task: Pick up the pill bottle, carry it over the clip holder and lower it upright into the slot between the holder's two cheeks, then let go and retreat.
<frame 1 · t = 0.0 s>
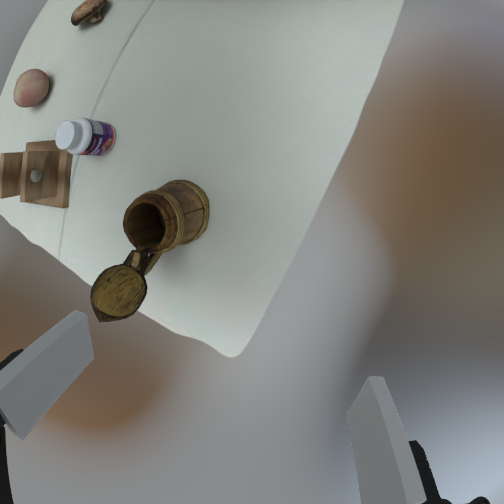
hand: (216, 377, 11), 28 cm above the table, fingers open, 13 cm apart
holder: (47, 172, 38), on the table
wooden mug: (176, 225, 39), on the table
pill bottle: (104, 139, 36), on the table
mushroom: (97, 15, 29), on the table
apple: (45, 91, 34), on the table
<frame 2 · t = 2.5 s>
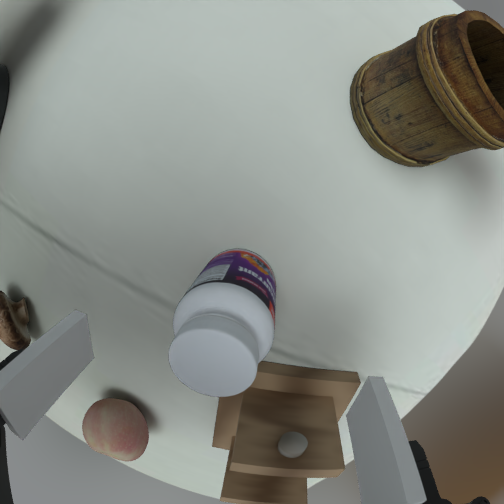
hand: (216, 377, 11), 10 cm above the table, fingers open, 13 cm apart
holder: (277, 413, 24), on the table
wooden mug: (428, 124, 15), on the table
pill bottle: (239, 280, 20), on the table
mushroom: (24, 310, 25), on the table
apple: (129, 406, 27), on the table
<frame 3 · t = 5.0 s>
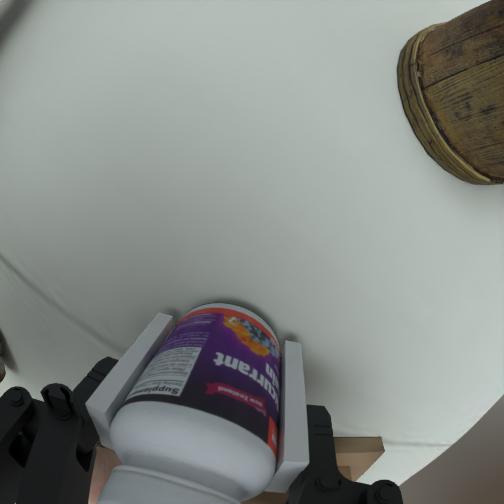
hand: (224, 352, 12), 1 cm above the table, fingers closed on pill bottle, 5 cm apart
holder: (282, 475, 17), on the table
wooden mug: (490, 126, 9), on the table
pill bottle: (226, 345, 13), point 1 cm above the table, touching gripper
apple: (113, 451, 20), on the table
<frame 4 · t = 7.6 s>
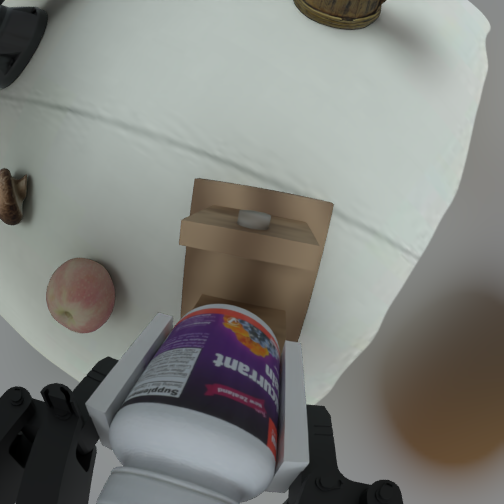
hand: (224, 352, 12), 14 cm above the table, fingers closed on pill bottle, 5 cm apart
holder: (251, 263, 26), on the table
wooden mug: (355, 8, 17), on the table
pill bottle: (226, 345, 13), point 13 cm above the table, touching gripper
mushroom: (23, 193, 27), on the table
apple: (101, 280, 28), on the table
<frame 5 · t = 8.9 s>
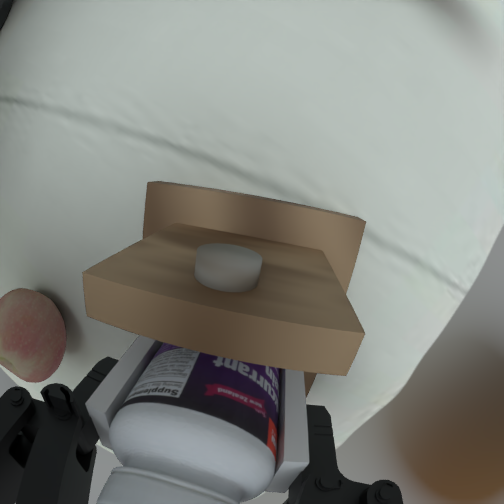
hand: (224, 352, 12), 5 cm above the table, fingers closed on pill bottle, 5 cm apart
holder: (237, 306, 17), on the table
pill bottle: (226, 345, 13), point 4 cm above the table, touching gripper
apple: (54, 314, 20), on the table
when the fingers open (3 cm above the table, at t = 10.1 s): pill bottle stays where it is, resting on holder.
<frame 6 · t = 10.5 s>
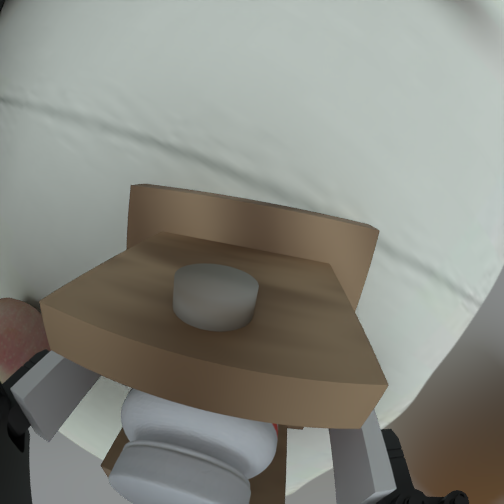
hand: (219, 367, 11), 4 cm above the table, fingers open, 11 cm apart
holder: (233, 323, 15), on the table
pill bottle: (229, 334, 14), point 1 cm above the table, touching holder
apple: (42, 324, 18), on the table
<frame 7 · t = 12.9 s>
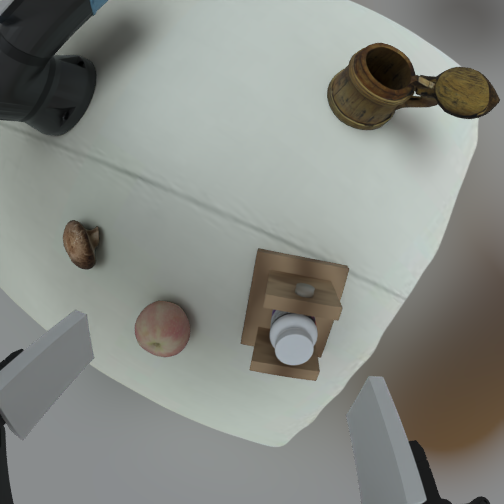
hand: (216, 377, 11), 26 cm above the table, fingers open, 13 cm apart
holder: (292, 305, 37), on the table
wooden mug: (375, 106, 29), on the table
pill bottle: (292, 308, 36), point 1 cm above the table, touching holder
mushroom: (91, 240, 39), on the table
apple: (173, 315, 40), on the table
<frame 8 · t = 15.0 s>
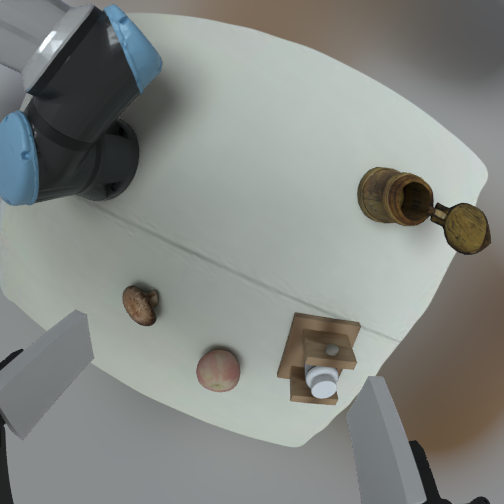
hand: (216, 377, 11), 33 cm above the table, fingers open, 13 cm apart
holder: (317, 349, 47), on the table
wooden mug: (394, 200, 39), on the table
pill bottle: (317, 353, 46), point 1 cm above the table, touching holder
mushroom: (147, 298, 48), on the table
apple: (222, 357, 50), on the table
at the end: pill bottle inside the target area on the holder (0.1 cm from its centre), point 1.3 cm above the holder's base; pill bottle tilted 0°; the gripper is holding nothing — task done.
